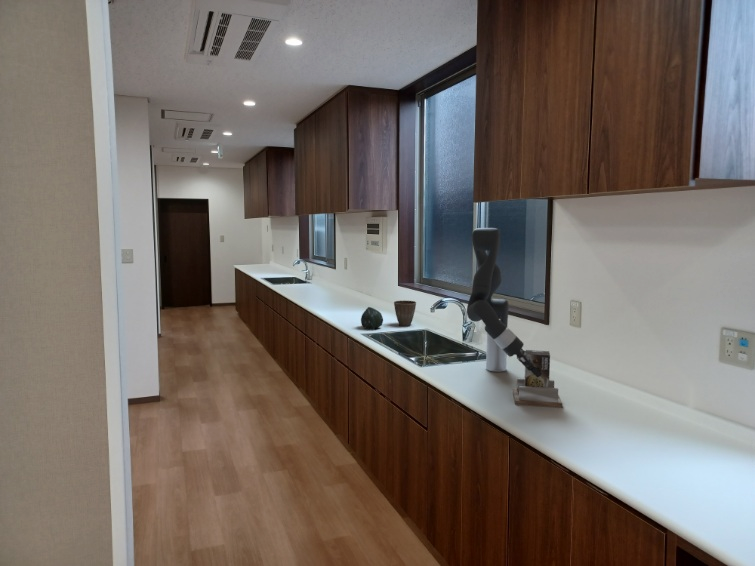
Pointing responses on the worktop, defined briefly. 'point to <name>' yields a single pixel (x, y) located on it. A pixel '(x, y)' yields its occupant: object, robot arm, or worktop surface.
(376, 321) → the squash
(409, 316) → the plant pot
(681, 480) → the worktop surface
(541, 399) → the clevis cradle
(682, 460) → the worktop surface
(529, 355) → the coffee box
